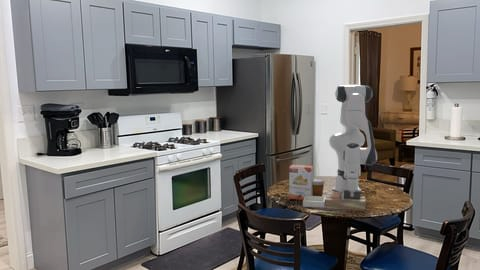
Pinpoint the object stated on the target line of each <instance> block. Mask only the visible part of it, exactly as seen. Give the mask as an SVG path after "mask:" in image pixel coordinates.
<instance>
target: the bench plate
mask: <svg viewBox="0 0 480 270" xmlns="http://www.w3.org/2000/svg"><path fill="white" fill-rule="evenodd" d="M332 194H333V193H332ZM332 194H331V193H328V194H327V193H326V195H325V197H326V198H325V208H324V209H331V210H332V209H333V210H348V211H364V212H365V211H366V196H365V195H360V198H344V200H342V194H341V197H340V200H333V199H332Z"/></svg>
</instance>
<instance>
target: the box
mask: <svg viewBox="0 0 480 270" xmlns="http://www.w3.org/2000/svg"><path fill="white" fill-rule="evenodd" d="M325 198H326V195H325V196H323V195H322V196H307V195H305V198H304V200H302V207H304V208H317V209H326V208H325Z"/></svg>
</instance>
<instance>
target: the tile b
mask: <svg viewBox="0 0 480 270" xmlns="http://www.w3.org/2000/svg"><path fill="white" fill-rule="evenodd" d="M332 199H333V200H340V194H333V193H332Z"/></svg>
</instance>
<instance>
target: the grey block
mask: <svg viewBox="0 0 480 270" xmlns="http://www.w3.org/2000/svg"><path fill="white" fill-rule="evenodd" d="M341 195H342V200H344V198H360V196H361V191H358V190H356V191H355V192H354V197H351V196H350V192H349V190H344V189H342V192H341Z"/></svg>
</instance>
